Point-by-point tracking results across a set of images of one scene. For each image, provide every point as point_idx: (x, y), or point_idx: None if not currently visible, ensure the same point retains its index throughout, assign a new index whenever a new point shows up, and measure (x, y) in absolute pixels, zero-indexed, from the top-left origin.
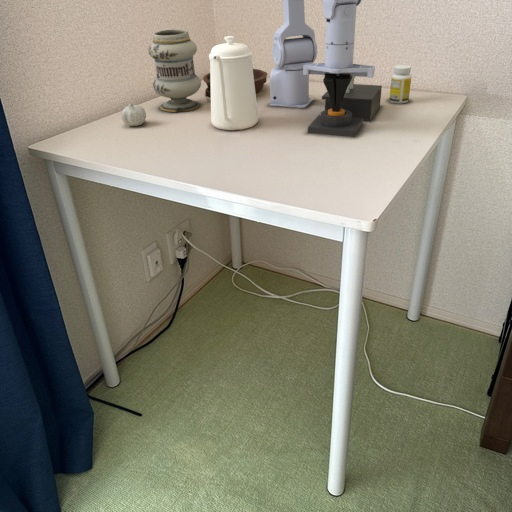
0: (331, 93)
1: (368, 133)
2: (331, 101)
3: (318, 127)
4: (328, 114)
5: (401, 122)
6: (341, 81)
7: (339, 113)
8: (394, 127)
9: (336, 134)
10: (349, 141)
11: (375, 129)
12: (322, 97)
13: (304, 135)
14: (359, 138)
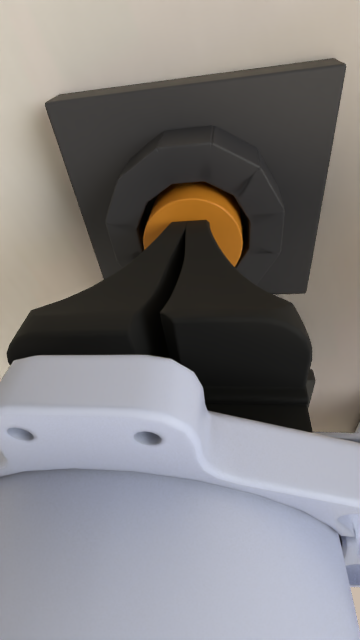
0: (207, 269)
1: (38, 190)
2: (210, 240)
3: (268, 78)
4: (231, 207)
5: (17, 331)
6: (61, 317)
7: (158, 207)
8: (3, 285)
9: (151, 83)
10: (43, 9)
11: (45, 247)
12: (311, 376)
13: (355, 6)
14: (29, 97)
